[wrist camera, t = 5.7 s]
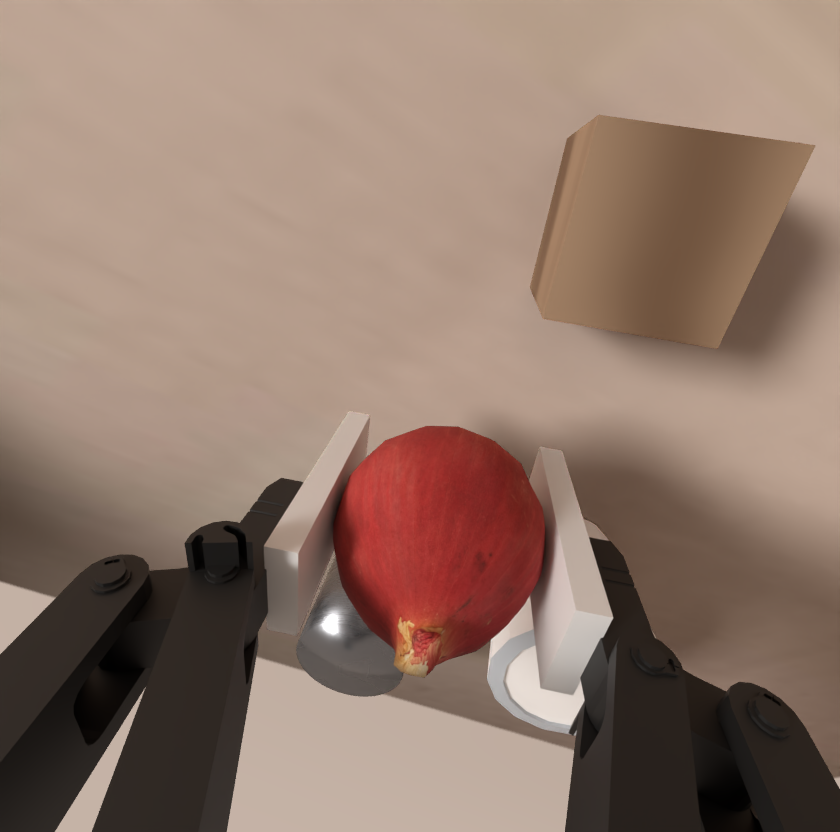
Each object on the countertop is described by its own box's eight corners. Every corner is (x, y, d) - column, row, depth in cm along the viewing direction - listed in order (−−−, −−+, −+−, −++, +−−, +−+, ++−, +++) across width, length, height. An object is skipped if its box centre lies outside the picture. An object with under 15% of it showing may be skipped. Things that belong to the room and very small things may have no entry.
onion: (554, 499, 16) (611, 747, 9) (413, 539, 17) (364, 772, 10) (494, 358, 14) (504, 532, 7) (341, 420, 15) (218, 609, 8)
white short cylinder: (554, 618, 25) (575, 757, 19) (462, 554, 24) (451, 680, 18) (654, 554, 22) (717, 695, 16) (553, 477, 21) (579, 596, 15)
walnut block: (529, 286, 17) (542, 318, 13) (567, 138, 15) (599, 115, 10) (658, 308, 17) (717, 349, 12) (717, 160, 14) (815, 145, 10)
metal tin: (335, 584, 26) (296, 682, 21) (339, 521, 24) (296, 613, 19) (416, 602, 26) (396, 706, 21) (428, 540, 24) (409, 639, 18)
